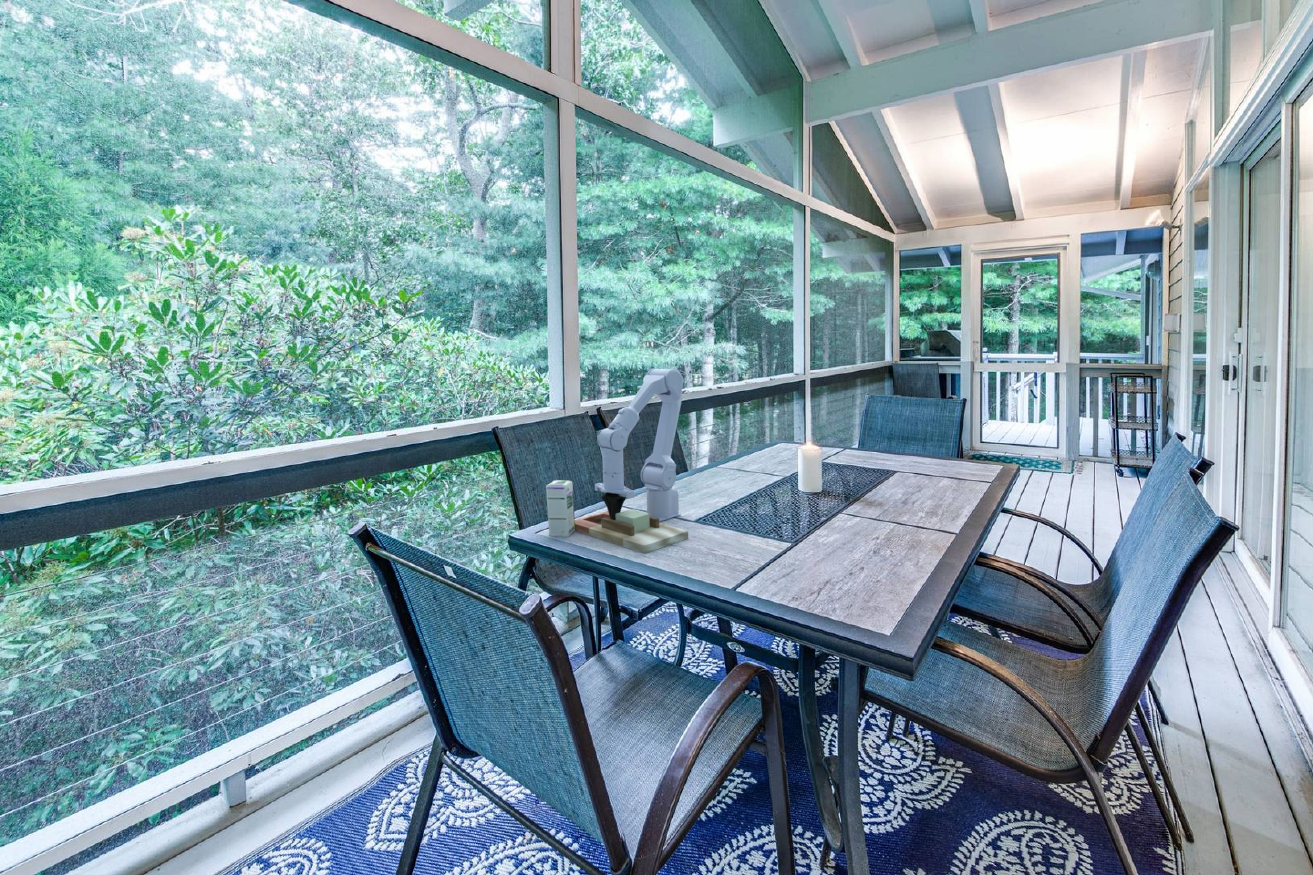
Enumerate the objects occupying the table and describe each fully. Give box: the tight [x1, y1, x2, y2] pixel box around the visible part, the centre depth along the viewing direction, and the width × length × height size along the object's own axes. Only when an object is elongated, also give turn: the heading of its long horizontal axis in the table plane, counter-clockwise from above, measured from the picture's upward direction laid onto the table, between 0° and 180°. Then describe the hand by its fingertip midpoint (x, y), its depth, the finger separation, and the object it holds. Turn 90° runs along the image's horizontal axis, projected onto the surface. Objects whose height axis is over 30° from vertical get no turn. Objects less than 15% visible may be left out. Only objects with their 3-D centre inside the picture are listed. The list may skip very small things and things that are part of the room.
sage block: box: [616, 508, 650, 533], centre depth 169 cm, size 6×7×4 cm
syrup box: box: [545, 479, 576, 537], centre depth 172 cm, size 6×6×14 cm
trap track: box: [574, 510, 689, 554], centre depth 172 cm, size 16×31×4 cm, turn 44°
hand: (614, 519), depth 175 cm, fingers closed
